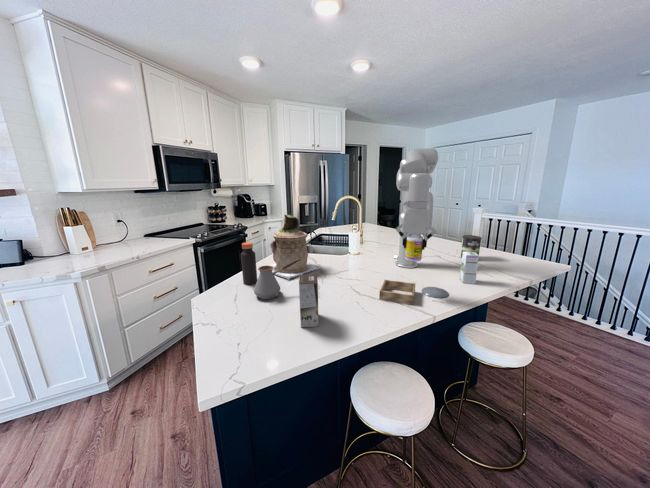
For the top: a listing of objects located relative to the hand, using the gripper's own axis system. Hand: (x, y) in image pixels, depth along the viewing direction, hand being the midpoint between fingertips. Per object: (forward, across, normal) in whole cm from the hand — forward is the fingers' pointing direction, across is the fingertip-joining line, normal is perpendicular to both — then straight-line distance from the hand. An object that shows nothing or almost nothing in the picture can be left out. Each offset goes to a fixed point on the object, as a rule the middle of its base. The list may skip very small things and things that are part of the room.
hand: (414, 247), depth 108 cm
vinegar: (+21, -75, -16) cm, 79 cm away
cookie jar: (+22, -66, +8) cm, 70 cm away
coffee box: (+21, -31, -36) cm, 53 cm away
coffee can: (+22, +28, +68) cm, 77 cm away
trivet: (+21, +10, +6) cm, 24 cm away
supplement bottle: (+5, 0, 0) cm, 5 cm away
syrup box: (+22, +24, +25) cm, 41 cm away
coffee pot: (+21, -54, -22) cm, 62 cm away
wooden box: (+21, -5, -4) cm, 22 cm away
